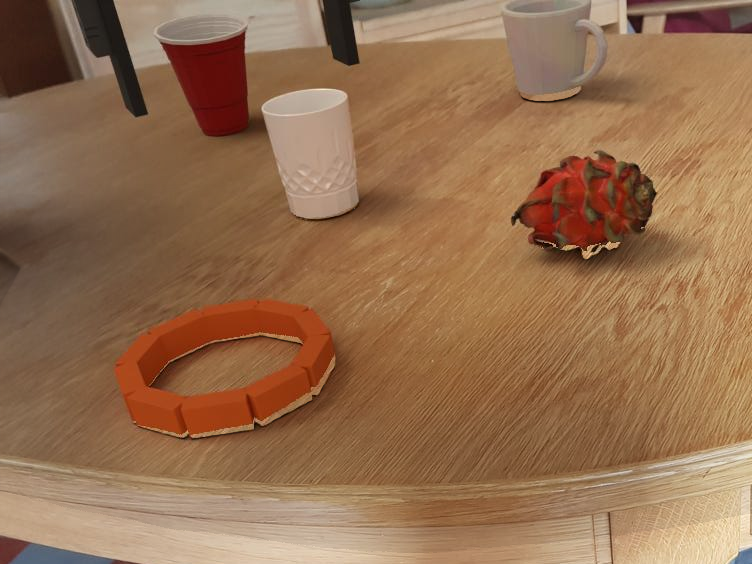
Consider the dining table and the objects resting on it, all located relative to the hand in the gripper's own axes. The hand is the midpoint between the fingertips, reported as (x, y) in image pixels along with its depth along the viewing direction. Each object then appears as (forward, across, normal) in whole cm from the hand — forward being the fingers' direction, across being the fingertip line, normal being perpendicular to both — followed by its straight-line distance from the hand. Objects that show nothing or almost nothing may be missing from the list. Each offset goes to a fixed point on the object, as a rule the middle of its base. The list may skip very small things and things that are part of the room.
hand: (245, 86), depth 59 cm
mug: (+19, +47, +38) cm, 64 cm away
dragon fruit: (+19, +25, +1) cm, 31 cm away
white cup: (+19, +11, +26) cm, 34 cm away
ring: (+19, -6, 0) cm, 20 cm away
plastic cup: (+18, +11, +59) cm, 63 cm away
